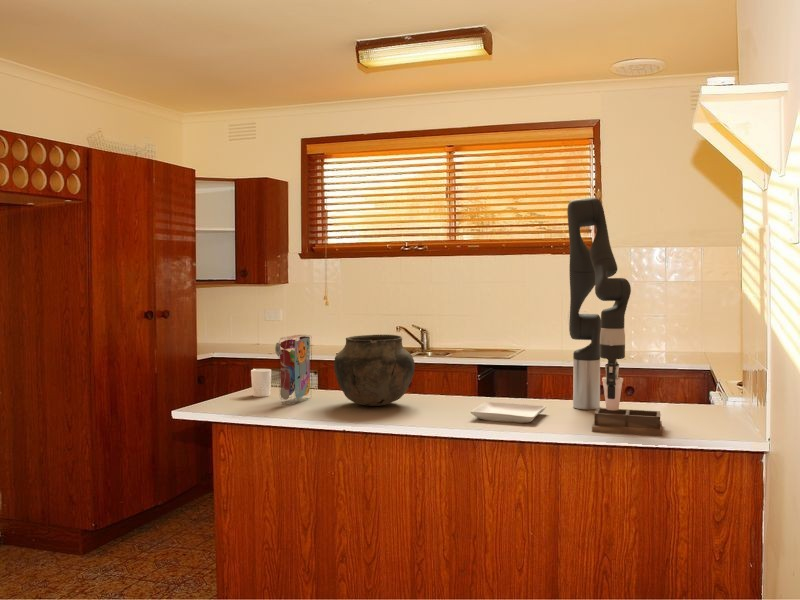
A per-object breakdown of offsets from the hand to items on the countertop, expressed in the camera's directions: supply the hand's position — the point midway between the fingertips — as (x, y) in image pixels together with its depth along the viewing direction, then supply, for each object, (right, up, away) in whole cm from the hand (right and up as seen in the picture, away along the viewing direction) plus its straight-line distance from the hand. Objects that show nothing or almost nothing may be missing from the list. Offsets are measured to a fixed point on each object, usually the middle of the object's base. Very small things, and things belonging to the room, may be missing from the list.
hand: (611, 396), depth 232 cm
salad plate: (-29, -10, +18) cm, 36 cm away
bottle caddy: (+4, -10, -1) cm, 11 cm away
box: (-106, -8, +45) cm, 115 cm away
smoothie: (0, -4, 0) cm, 4 cm away
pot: (-75, -8, +40) cm, 85 cm away
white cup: (-120, -8, +62) cm, 135 cm away
